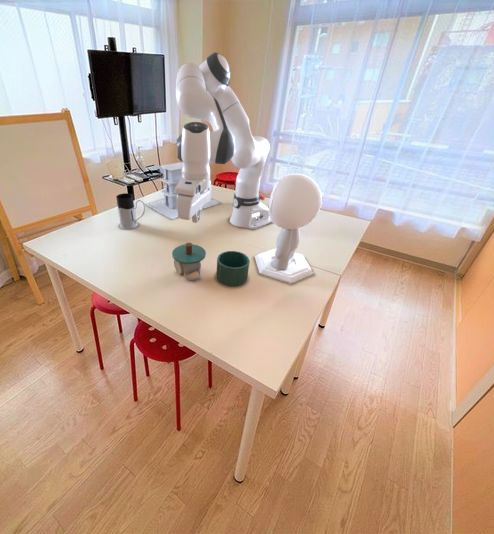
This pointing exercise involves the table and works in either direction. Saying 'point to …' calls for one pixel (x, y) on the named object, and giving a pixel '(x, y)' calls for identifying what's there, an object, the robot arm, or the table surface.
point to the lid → (189, 253)
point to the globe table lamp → (290, 227)
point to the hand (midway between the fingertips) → (196, 221)
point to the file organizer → (172, 192)
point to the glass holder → (127, 211)
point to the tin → (232, 268)
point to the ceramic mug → (187, 269)
